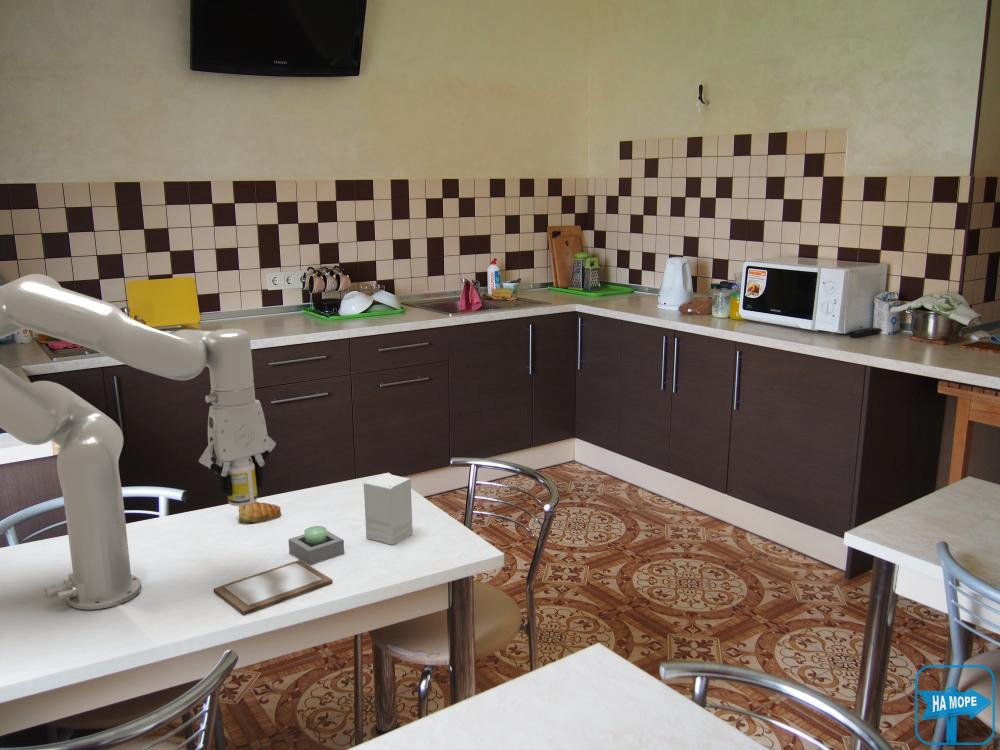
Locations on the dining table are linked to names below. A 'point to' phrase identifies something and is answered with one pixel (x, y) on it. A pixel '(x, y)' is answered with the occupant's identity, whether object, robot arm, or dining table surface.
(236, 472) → the supplement bottle
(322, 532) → the button
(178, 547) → the dining table surface
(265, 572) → the board
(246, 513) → the pastry
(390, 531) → the supplement box
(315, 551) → the button housing
